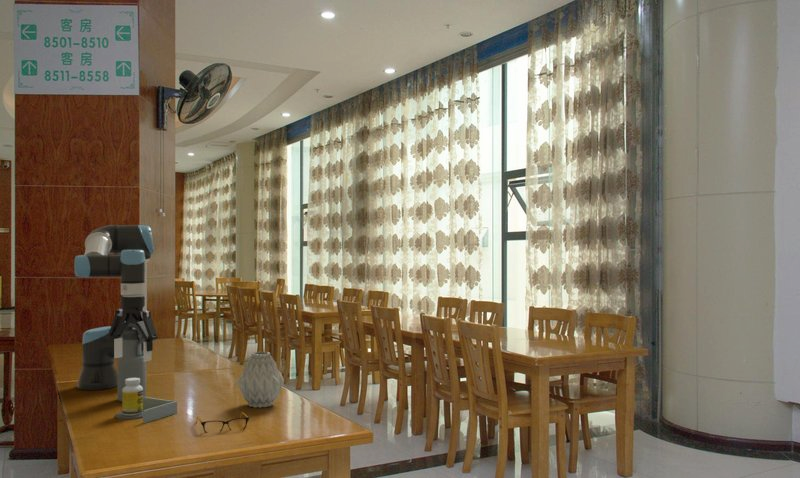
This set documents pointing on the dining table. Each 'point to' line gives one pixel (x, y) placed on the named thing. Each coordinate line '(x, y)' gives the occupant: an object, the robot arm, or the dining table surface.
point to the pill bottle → (132, 397)
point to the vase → (260, 380)
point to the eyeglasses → (224, 422)
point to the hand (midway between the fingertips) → (132, 359)
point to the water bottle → (131, 359)
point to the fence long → (153, 402)
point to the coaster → (121, 416)
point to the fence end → (159, 412)
